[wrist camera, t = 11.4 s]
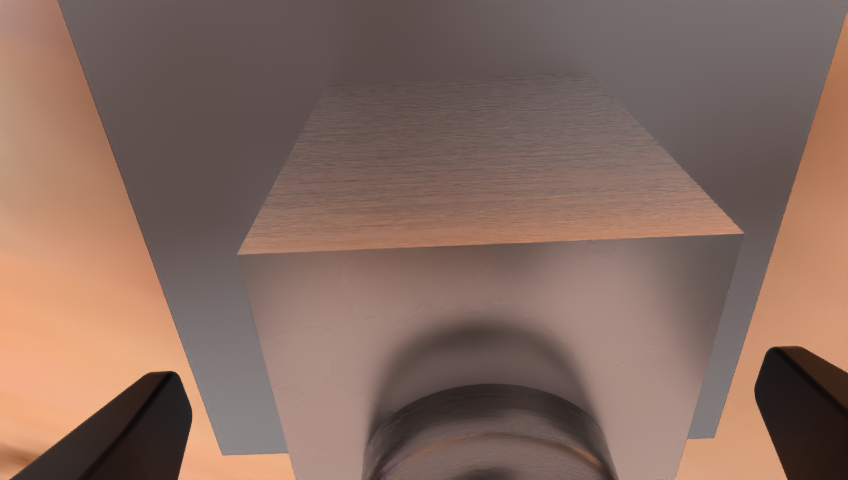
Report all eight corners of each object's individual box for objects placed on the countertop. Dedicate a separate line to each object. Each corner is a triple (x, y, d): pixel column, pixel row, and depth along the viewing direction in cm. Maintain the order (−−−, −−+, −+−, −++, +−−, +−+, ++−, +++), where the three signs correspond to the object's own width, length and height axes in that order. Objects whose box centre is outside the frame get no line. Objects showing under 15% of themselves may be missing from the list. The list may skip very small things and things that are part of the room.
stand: (795, -160, 11) (905, -177, 9) (674, 363, 18) (713, 437, 16) (105, -114, 12) (15, -118, 9) (249, 379, 19) (222, 455, 16)
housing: (590, 72, 11) (816, 309, 4) (562, 351, 14) (666, 697, 8) (326, 85, 11) (195, 334, 5) (364, 358, 14) (318, 703, 8)
